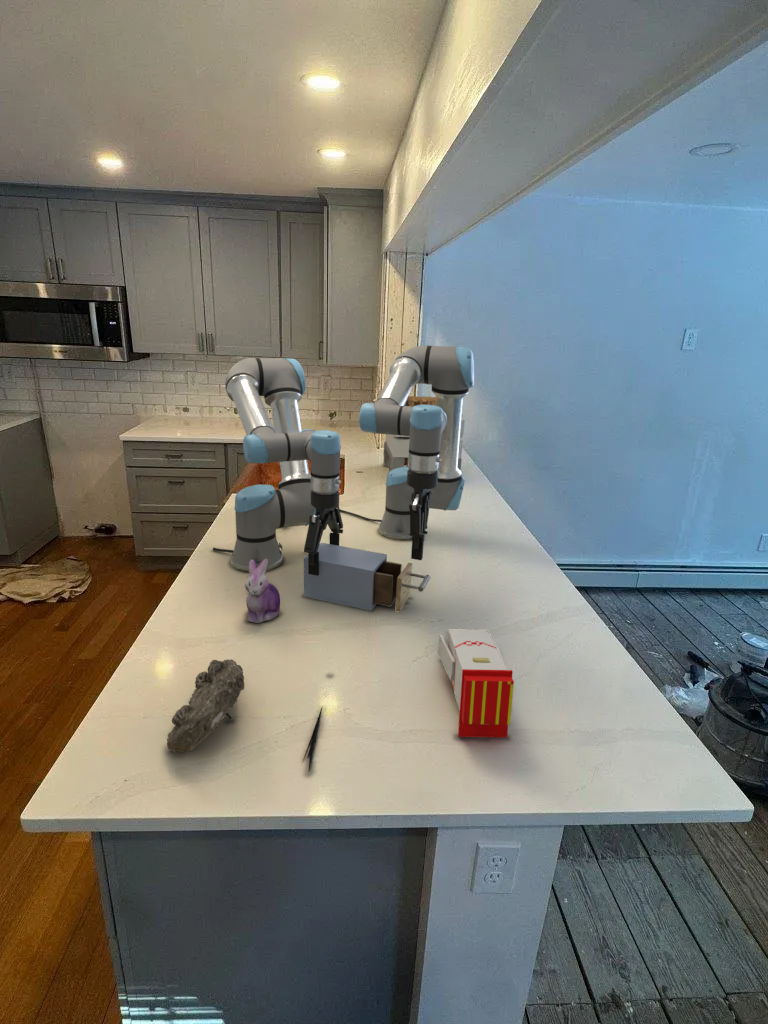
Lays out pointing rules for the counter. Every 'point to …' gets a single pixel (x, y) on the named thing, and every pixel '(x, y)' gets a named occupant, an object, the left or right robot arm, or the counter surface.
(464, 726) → the toy
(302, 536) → the counter surface
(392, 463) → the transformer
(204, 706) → the fossil
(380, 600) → the drawer
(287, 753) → the counter surface
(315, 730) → the feather
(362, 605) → the cabinet
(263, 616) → the figurine
